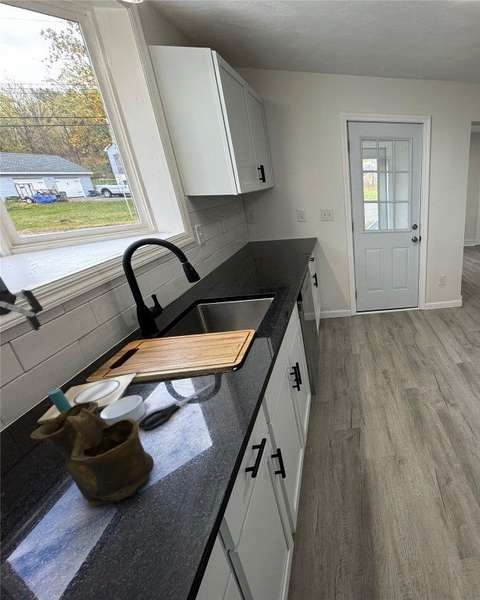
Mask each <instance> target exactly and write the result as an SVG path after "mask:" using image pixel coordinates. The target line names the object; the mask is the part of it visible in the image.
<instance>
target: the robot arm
mask: <svg viewBox="0 0 480 600" xmlns="http://www.w3.org/2000/svg"><path fill="white" fill-rule="evenodd" d="M17 298H20V299H21V300H24V301H25V300H26V302H27V303H28V304H29V305H30V307H31V308H30V309H25V308H23V307H20V306H17V305H15V304H16V301H17ZM43 310H44V308H43V306H42V305H41V304H40V302H39V300H38V299H37V297H36V296H35V295H34V293H33V292H32V290H29V289H27V288H26V289H25V288H24V289H21V290H20V291H18V292H14V293H13V292H11V291H10V290H9V288H8V286H7V285H6V284H5V281H4V280H3V278H2V276H0V316H7V315H9V314H10V313H12V312H15V313H18V314H21V315H24V317H25V320H26V321H27V323H28V324H29V326H30V327H31V329H32V330H33V331H36V332H37V331H39V330H40V328H41V327H42V325H41V322H40V321H39V319H38V317H37V314H38V313H40V312H43Z"/></svg>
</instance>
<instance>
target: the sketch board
mask: <svg viewBox="0 0 480 600" xmlns="http://www.w3.org/2000/svg"><path fill="white" fill-rule="evenodd" d="M136 375H137V372H134V373H130V374H124V375H120V376H115V377H111V378H107V379H102V380H97V381H93V382H89V383H83V384H79V385H75V386H71V387H70V388H69V389H67V391H66V392H65V393H63V394H64V395H65V397H66V398H67V400H68V402H69V403H70V405H71V406H72V407H73V406H74V405H76V404H79V403H83V402H88V401H93V402H97V403H98V411H100V410H104V409H105V408H106V407H107V406H109V405H110V404H112V403H113V402H115V401H117V400H120V399H122V398H124V396H125V394H126V393H127V391H128V390H129V388H127V387H128V385H130V383H131V381H132V380H133V379H134V378H135V376H136ZM59 414H60V412H59V411H58V409H57V408H56V406H55V405H54V404H53V405H52V406H51V407H50V408H49V409H48V410H47V411H46V412H45V413H44V414H43V415H42V416H41V417H40V418H39V419H38V420H37V421H36V423H37V424H38V425H44V424H45V422H46V421H47V420H48V421H51V420H53V419H55V418H56V417H57V416H58V415H59Z"/></svg>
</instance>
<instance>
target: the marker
mask: <svg viewBox="0 0 480 600" xmlns="http://www.w3.org/2000/svg"><path fill="white" fill-rule="evenodd" d="M64 394H65V393H64V392H63V391H62V389H61V388H55V389H52V390H51V391H49V392H48V393H47V396H48V397H49V398H50V400H51V402H52V403H53V405H55V406H56V408H57V409H58V411H59V412H60V414H61V413H62V412H64V411H67V410H69V409H70V408H72V406H71V405H70V403H69V402H68V400H67V398H66V397H65V395H64Z"/></svg>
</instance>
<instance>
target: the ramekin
mask: <svg viewBox="0 0 480 600" xmlns="http://www.w3.org/2000/svg"><path fill="white" fill-rule="evenodd" d="M145 413H146V408H145V404H144V401H143V397H142V396H140V395H129V396H125V397H122V398H121V399H120V400H117V401H115V402H113V403H112V404H110V405H109V406H107V407H106V408H105V409H102V411H101V412H100V413H99V415H100V417H101V419H102V421H103V422H105V423H106V424H114V423H115V422H118V421H120V420H122V419H126V418H133V420H135V421H136V422H137V421H139V420H140V419H141V418H142V417H143V416H144V415H145Z"/></svg>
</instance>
